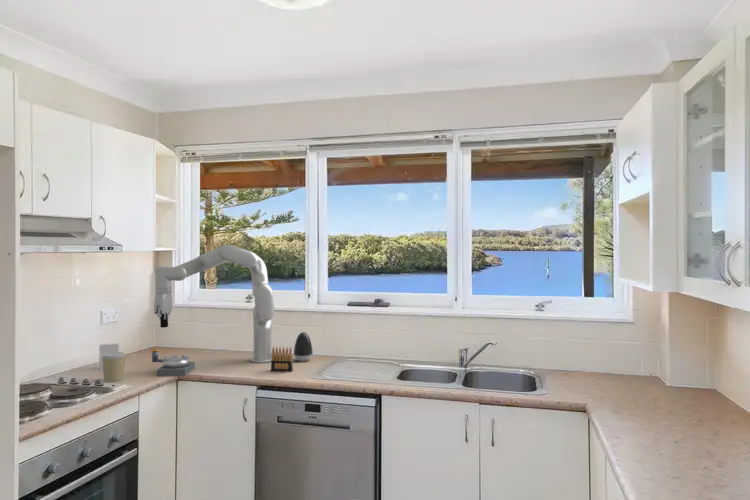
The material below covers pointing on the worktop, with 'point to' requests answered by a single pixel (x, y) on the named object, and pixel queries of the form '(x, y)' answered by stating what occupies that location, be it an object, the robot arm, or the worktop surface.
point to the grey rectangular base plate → (175, 370)
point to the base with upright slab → (106, 351)
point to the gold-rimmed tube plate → (171, 360)
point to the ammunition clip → (281, 360)
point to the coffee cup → (113, 366)
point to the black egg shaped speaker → (303, 347)
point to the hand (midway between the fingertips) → (164, 327)
